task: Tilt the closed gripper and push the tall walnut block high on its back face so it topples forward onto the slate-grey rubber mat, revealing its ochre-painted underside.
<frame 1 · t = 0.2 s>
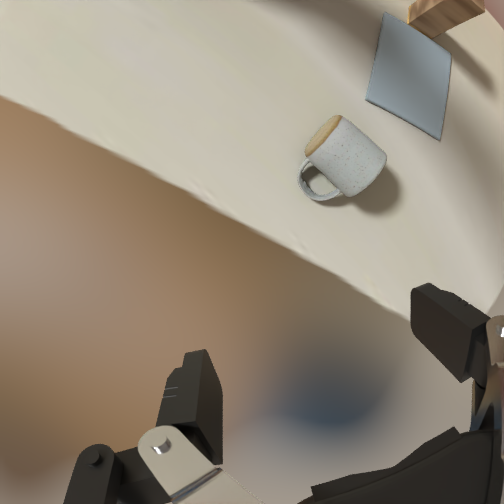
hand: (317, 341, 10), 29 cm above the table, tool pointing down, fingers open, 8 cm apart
walnut block: (419, 22, 31), on the table
ceramic mug: (329, 164, 37), on the table
slate mat: (413, 72, 34), on the table
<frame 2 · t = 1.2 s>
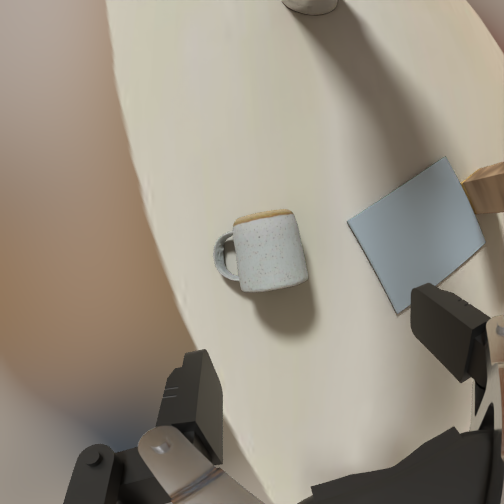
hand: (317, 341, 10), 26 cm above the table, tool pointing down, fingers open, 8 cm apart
walnut block: (477, 190, 33), on the table
ceramic mug: (259, 252, 37), on the table
slate mat: (425, 232, 34), on the table
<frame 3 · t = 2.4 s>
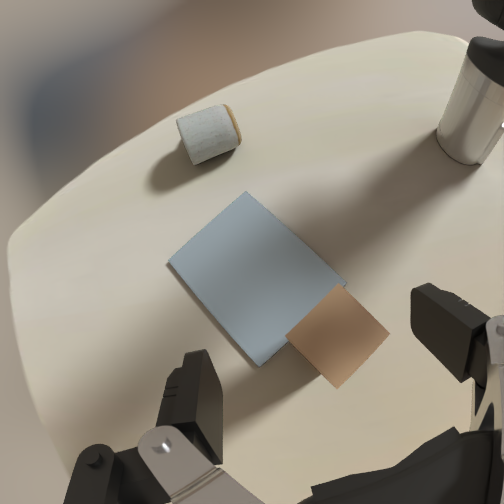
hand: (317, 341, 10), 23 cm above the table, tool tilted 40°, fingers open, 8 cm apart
walnut block: (322, 344, 32), on the table
ceramic mug: (211, 144, 45), on the table
slate mat: (252, 272, 36), on the table
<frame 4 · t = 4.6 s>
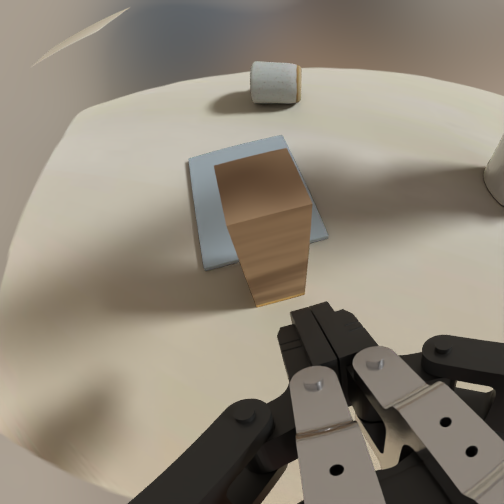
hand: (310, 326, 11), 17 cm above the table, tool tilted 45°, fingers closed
walnut block: (274, 279, 31), on the table
ceramic mug: (277, 97, 47), on the table
slate mat: (249, 193, 36), on the table
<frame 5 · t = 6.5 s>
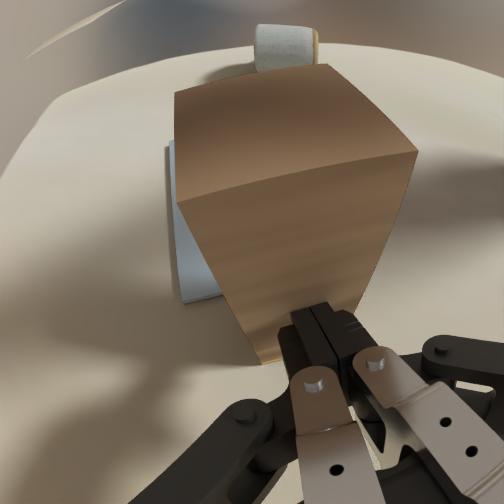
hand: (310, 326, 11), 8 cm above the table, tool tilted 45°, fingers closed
walnut block: (290, 319, 19), on the table, touching gripper
ceramic mug: (287, 69, 36), on the table
slate mat: (251, 187, 25), on the table
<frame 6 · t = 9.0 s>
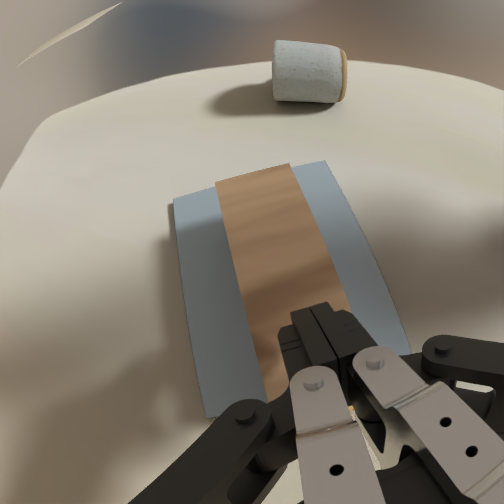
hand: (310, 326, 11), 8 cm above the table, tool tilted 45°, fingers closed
walnut block: (324, 415, 13), point 3 cm above the table, tilted 90°, touching slate mat
ceramic mug: (306, 93, 32), on the table
slate mat: (278, 271, 21), on the table
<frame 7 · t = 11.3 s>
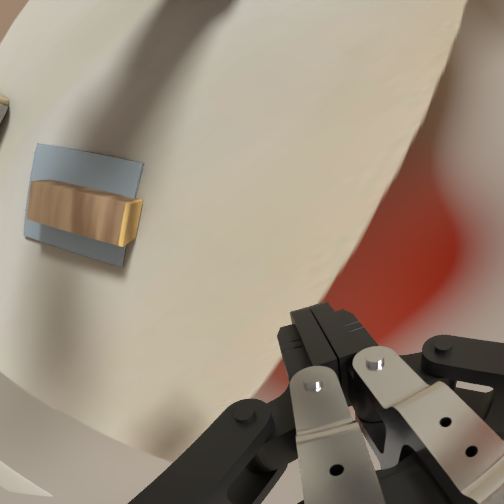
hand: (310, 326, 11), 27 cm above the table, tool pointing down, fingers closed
walnut block: (133, 222, 33), point 3 cm above the table, tilted 90°, touching slate mat
slate mat: (75, 201, 35), on the table
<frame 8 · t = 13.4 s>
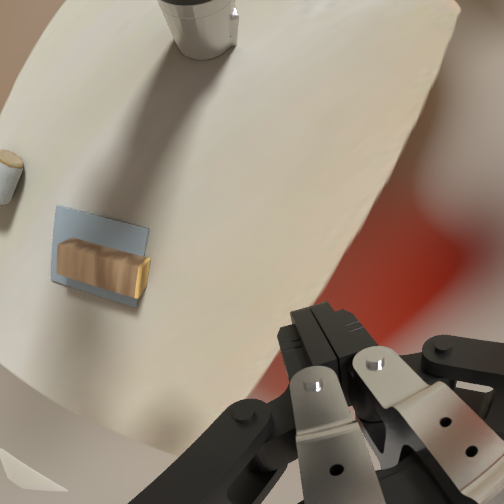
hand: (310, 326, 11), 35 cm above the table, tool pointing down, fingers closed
walnut block: (144, 278, 43), point 3 cm above the table, tilted 90°, touching slate mat
ceramic mug: (10, 173, 39), on the table
slate mat: (94, 255, 45), on the table
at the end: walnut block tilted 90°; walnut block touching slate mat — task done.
